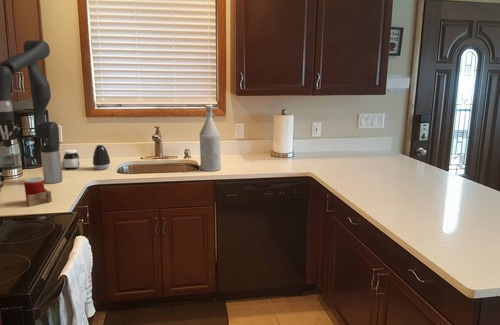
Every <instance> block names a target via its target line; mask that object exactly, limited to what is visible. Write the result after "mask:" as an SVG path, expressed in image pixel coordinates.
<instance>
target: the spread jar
mask: <svg viewBox="0 0 500 325" xmlns="http://www.w3.org/2000/svg"><path fill="white" fill-rule="evenodd" d="M77 152H78V151H77V149H65V150H64V155H63V158H62V160H60V161H61V167H64V169H65V170H67V169H74V170H77V168H78V169H79V168H80V165H81V163H80V156H79V153H77Z"/></svg>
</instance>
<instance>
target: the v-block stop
mask: <svg viewBox="0 0 500 325" xmlns="http://www.w3.org/2000/svg"><path fill="white" fill-rule="evenodd" d="M44 190H45V192H43V193H38V194H32V195H27V197H28V203H27V205H28V207H34V206H37V205H38V206H39V205H43V204H49V203H51V202H52V201H53V199H52V191H51V190H48V189H46V188H45V187H44Z"/></svg>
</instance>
